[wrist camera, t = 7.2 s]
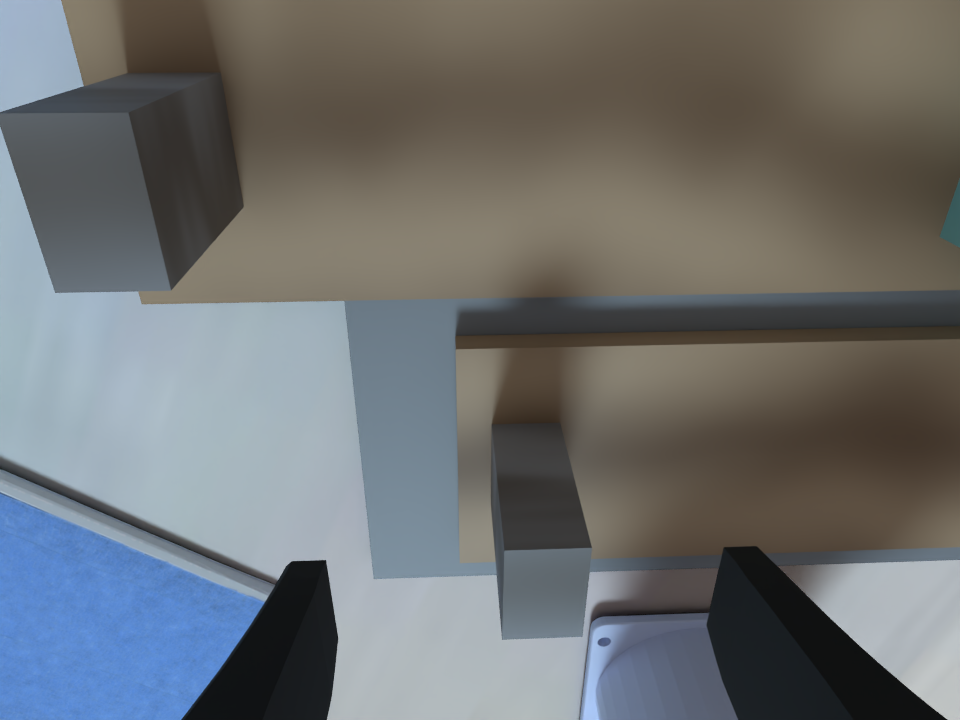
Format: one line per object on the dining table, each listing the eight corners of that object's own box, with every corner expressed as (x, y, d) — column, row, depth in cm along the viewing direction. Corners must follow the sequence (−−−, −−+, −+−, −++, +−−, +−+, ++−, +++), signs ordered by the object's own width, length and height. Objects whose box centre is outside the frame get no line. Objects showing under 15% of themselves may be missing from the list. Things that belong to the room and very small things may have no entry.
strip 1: (1163, 274, 19) (1416, 381, 14) (153, 291, 18) (41, 412, 13) (1337, -58, 15) (1772, -73, 10) (64, -61, 14) (-144, -80, 9)
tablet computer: (344, 601, 26) (339, 629, 25) (200, 761, 31) (190, 792, 30) (-228, 347, 20) (-268, 369, 19) (-299, 596, 25) (-335, 627, 24)
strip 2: (1249, 521, 24) (1460, 664, 19) (459, 545, 23) (463, 704, 18) (1397, 317, 20) (1711, 430, 15) (455, 335, 19) (458, 463, 14)
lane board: (1280, 533, 26) (1303, 548, 25) (375, 561, 25) (373, 579, 24) (1769, -105, 16) (1829, -109, 15) (307, -113, 15) (300, -117, 14)
